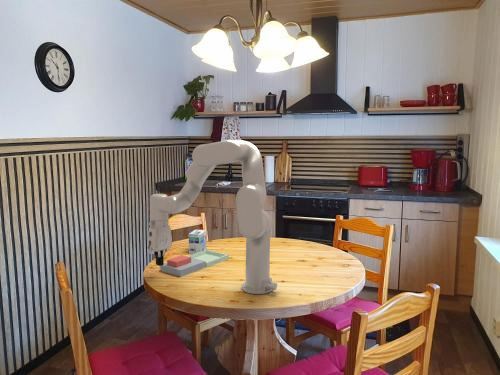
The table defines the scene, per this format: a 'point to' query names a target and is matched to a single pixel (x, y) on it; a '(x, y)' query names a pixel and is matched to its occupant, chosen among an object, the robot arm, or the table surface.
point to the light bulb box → (197, 241)
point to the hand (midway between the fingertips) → (159, 264)
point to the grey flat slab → (184, 268)
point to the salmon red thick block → (179, 261)
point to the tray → (210, 257)
